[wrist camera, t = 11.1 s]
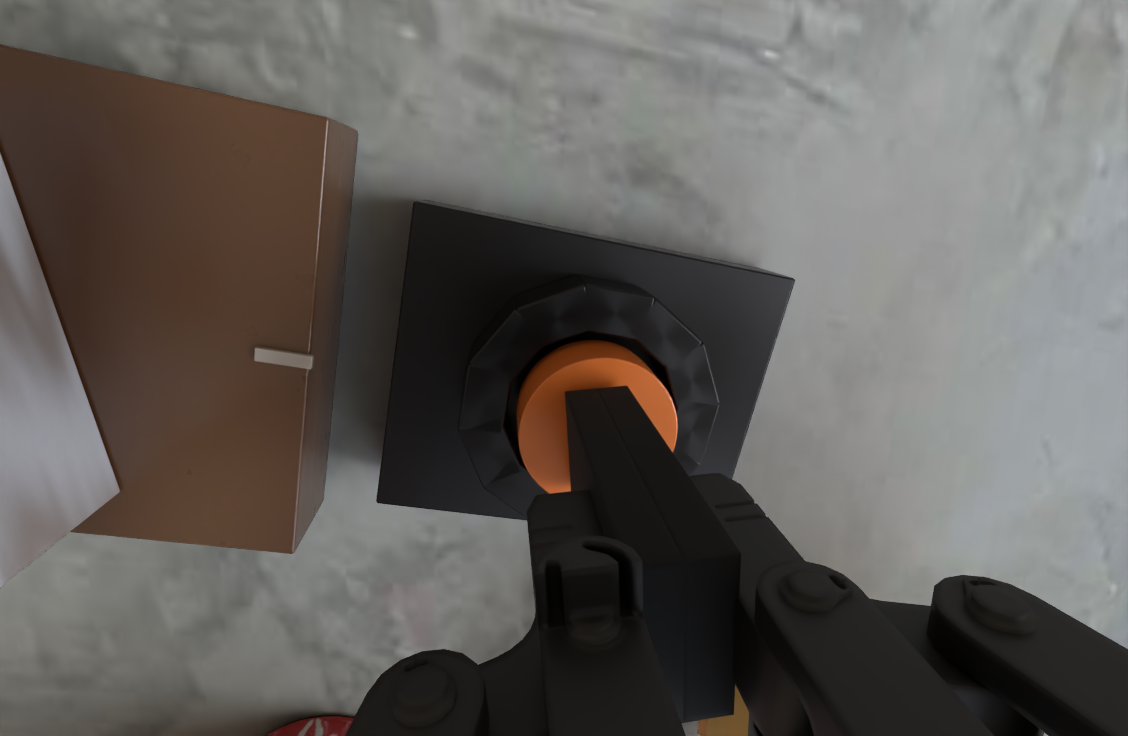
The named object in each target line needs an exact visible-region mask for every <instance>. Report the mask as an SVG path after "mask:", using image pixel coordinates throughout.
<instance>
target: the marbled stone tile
mask: <svg viewBox="0 0 1128 736" xmlns="http://www.w3.org/2000/svg"><path fill="white" fill-rule="evenodd" d="M119 492H120V489H119V486H118V483H117V481H116V478H115V475H114V472H113V469H112V467H111V464H110V461H109V458H108V455H107V452H106V450H105V447H104V444H103V441H102V438H101V436H100V433H99V430H98V427H97V424H96V421H95V419H94V416H93V413H92V410H91V407H90V404H89V402H88V399H87V396H86V393H85V390H84V388H83V385H82V382H81V379H80V376H79V373H78V371H77V368H76V365H75V362H74V359H73V357H72V354H71V351H70V348H69V345H68V342H67V340H66V337H65V334H64V331H63V328H62V325H61V323H60V320H59V317H58V314H57V311H56V309H55V306H54V303H53V300H52V297H51V294H50V292H49V289H48V286H47V283H46V280H45V278H44V275H43V272H42V269H41V266H40V263H39V261H38V258H37V255H36V252H35V249H34V246H33V244H32V241H31V238H30V235H29V232H28V230H27V227H26V224H25V221H24V218H23V215H22V213H21V210H20V207H19V204H18V201H17V198H16V196H15V193H14V190H13V187H12V184H11V182H10V179H9V176H8V173H7V170H6V167H5V165H4V162H3V159H2V156H1V153H0V587H1V586H3V585H4V584H5V583H6V582H8V581H9V580H10V579H11V578H13V577H14V576H15V575H16V574H18V573H19V572H20V571H21V570H23V569H24V568H25V567H26V566H28V565H29V564H30V563H31V562H33V561H34V560H35V559H36V558H38V557H39V556H40V555H42V554H43V553H44V552H45V551H47V550H48V549H49V548H50V547H52V546H53V545H54V544H55V543H57V542H58V541H59V540H60V539H62V538H63V537H64V536H65V535H67V534H68V533H69V532H70V531H72V530H73V529H74V528H75V527H77V526H78V525H79V524H80V523H82V522H83V521H84V520H85V519H87V518H88V517H89V516H90V515H92V514H93V513H94V512H95V511H97V510H98V509H99V508H100V507H102V506H103V505H104V504H105V503H107V502H108V501H109V500H110V499H112V498H113V497H114V496H115V495H117V494H118V493H119Z"/></svg>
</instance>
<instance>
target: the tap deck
mask: <svg viewBox="0 0 1128 736" xmlns="http://www.w3.org/2000/svg"><path fill="white" fill-rule="evenodd" d="M357 141H358V131H357V130H355V129H353V128H351V127H348V126H346V125H344V124H341V123H339V122H337V121H334V120H332V119H330V118H327V117H323V116H319V115H314V114H310V113H305V112H301V111H296V110H292V109H287V108H283V107H279V106H274V105H270V104H265V103H261V102H256V101H252V100H247V99H243V98H238V97H234V96H229V95H225V94H220V93H216V92H211V91H207V90H202V89H198V88H193V87H189V86H184V85H180V84H175V83H171V82H167V81H162V80H158V79H153V78H149V77H144V76H140V75H135V74H131V73H126V72H122V71H117V70H113V69H108V68H104V67H99V66H95V65H90V64H86V63H81V62H77V61H72V60H68V59H63V58H59V57H55V56H50V55H46V54H41V53H37V52H32V51H28V50H23V49H19V48H14V47H10V46H5V45H1V44H0V153H1V156H2V159H3V162H4V165H5V167H6V170H7V173H8V176H9V179H10V182H11V184H12V187H13V190H14V193H15V196H16V198H17V201H18V204H19V207H20V210H21V213H22V215H23V218H24V221H25V224H26V227H27V230H28V232H29V235H30V238H31V241H32V244H33V246H34V249H35V252H36V255H37V258H38V261H39V263H40V266H41V269H42V272H43V275H44V278H45V280H46V283H47V286H48V289H49V292H50V294H51V297H52V300H53V303H54V306H55V309H56V311H57V314H58V317H59V320H60V323H61V325H62V328H63V331H64V334H65V337H66V340H67V342H68V345H69V348H70V351H71V354H72V357H73V359H74V362H75V365H76V368H77V371H78V373H79V376H80V379H81V382H82V385H83V388H84V390H85V393H86V396H87V399H88V402H89V404H90V407H91V410H92V413H93V416H94V419H95V421H96V424H97V427H98V430H99V433H100V436H101V438H102V441H103V444H104V447H105V450H106V452H107V455H108V458H109V461H110V464H111V467H112V469H113V472H114V475H115V478H116V481H117V483H118V486H119V489H120V492H119V493H118V494H117V495H115V496H114V497H113V498H112V499H110V500H109V501H108V502H107V503H105V504H104V505H103V506H102V507H100V508H99V509H98V510H97V511H95V512H94V513H93V514H92V515H90V516H89V517H88V518H87V519H85V520H84V521H83V522H82V523H80V524H79V525H78V526H77V527H75V528H74V529H73V530H72V531H70V532H76V533H87V534H97V535H107V536H117V537H127V538H137V539H147V540H157V541H168V542H178V543H188V544H198V545H208V546H218V547H228V548H238V549H249V550H259V551H269V552H279V553H289V554H292V553H294V552H295V550H296V549H297V547H298V545H299V543H300V541H301V540H302V538H303V536H304V534H305V532H306V531H307V529H308V527H309V525H310V524H311V522H312V520H313V518H314V516H315V515H316V513H317V511H318V509H319V507H320V506H321V504H322V502H323V500H324V490H325V479H326V469H327V458H328V447H329V437H330V426H331V416H332V405H333V395H334V384H335V373H336V363H337V352H338V342H339V331H340V321H341V310H342V299H343V289H344V278H345V268H346V257H347V247H348V236H349V226H350V215H351V204H352V194H353V183H354V173H355V162H356V152H357ZM30 564H31V563H30ZM30 564H29V565H30ZM26 567H27V566H26Z"/></svg>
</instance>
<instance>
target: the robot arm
mask: <svg viewBox="0 0 1128 736" xmlns="http://www.w3.org/2000/svg"><path fill="white" fill-rule="evenodd" d="M565 404H566V420H567V436H568V452H569V468H570V485H571V491H568V492H559V493H551V494H542V495H536V496H535V498H534V500H533V501H532V503H531V505H530V507H529V508H528V510H527V522H528V533H529V544H530V555H531V566H532V577H533V587H534V598H535V608H536V614H535V619H534V622H533V624H532V627H531V629H530V630H529V632H528V633H527V634H526V636H525V637H524V638H523V640H521V641H520V642H519V643H518V644H517V645H515V646H514V647H513V648H512V649H511V650H509V651H507V652H505V653H503V654H501V655H499V656H498V657H496V658H493V659H491V660H489V661H486V662H484V663H482V664H479V665H477V664H476V663H475V662H474V661H472V660H471V659H470V658H468V657H467V656H466V655H464V654H463V653H458V652H454V651H450V650H445V649H441V650H431V651H422V652H420V653H417V654H415V655H412V656H410V657H407V658H405V659H402V660H400V661H399V662H397V663H396V664H395V665H393V666H392V667H391V668H389V669H388V670H387V671H385V672H384V673H383V674H381V675H380V677H379V678H378V679H377V681H376V682H375V683H374V685H373V686H372V687H371V689H370V690H369V691H368V693H367V695H366V696H365V698H364V700H363V702H362V704H361V706H360V708H359V710H358V712H357V714H356V716H355V717H354V719H353V721H352V723H351V725H350V727H349V729H348V731H347V733H346V735H345V736H686V735H685V733H684V730H683V727H682V724H681V723H684V722H691V721H697V720H703V719H710V718H716V717H723V716H729V715H734V700H735V685H736V687H737V689H738V691H739V693H740V695H741V697H742V699H743V701H744V703H745V705H746V707H747V709H748V711H749V722H748V736H1043V734H1044V732H1045V733H1046V734H1047V735H1049V736H1128V649H1126V648H1124V647H1123V646H1121V645H1119V644H1118V643H1116V642H1114V641H1112V640H1111V639H1109V638H1107V637H1105V636H1104V635H1102V634H1100V633H1098V632H1097V631H1095V630H1093V629H1092V628H1090V627H1088V626H1086V625H1085V624H1083V623H1081V622H1079V621H1078V620H1076V619H1074V618H1072V617H1071V616H1069V615H1067V614H1065V613H1064V612H1062V611H1060V610H1059V609H1057V608H1055V607H1053V606H1052V605H1050V604H1048V603H1046V602H1045V601H1043V600H1041V599H1039V598H1038V597H1036V596H1034V595H1032V594H1030V593H1028V592H1026V591H1024V590H1021V589H1019V588H1017V587H1015V586H1013V585H1011V584H1008V583H1004V582H1000V581H997V580H993V579H990V578H986V577H978V576H967V575H960V576H954V577H948V578H944V579H943V580H942V581H940V582H939V583H938V584H936V585H935V586H934V592H933V598H932V603H931V606H925V605H915V604H906V603H896V602H887V601H879V600H873V599H869V598H868V597H867V596H866V595H865V593H864V592H863V591H862V590H861V589H860V588H859V587H858V586H857V585H856V584H854V583H853V582H852V581H851V580H849V579H848V578H847V577H846V576H844V575H843V574H841V573H839V572H837V571H834V570H832V569H830V568H828V567H826V566H823V565H819V564H814V563H810V562H805V561H804V559H803V558H802V557H801V556H800V555H799V553H798V552H797V551H796V550H795V549H794V547H793V546H792V545H791V544H790V543H789V541H788V540H787V539H786V538H785V537H784V535H783V534H782V533H781V532H780V531H779V529H778V528H777V527H776V526H775V525H774V524H773V522H772V521H771V520H770V519H769V518H768V517H766V516H765V513H764V512H763V510H762V509H761V508H760V507H759V506H758V504H755V503H754V500H753V498H752V497H751V496H750V495H749V494H748V492H747V491H746V490H745V489H744V488H743V486H742V485H741V484H739V483H737V482H735V481H734V480H732V479H730V478H728V477H726V476H725V475H723V474H721V473H711V474H702V475H693V476H688V474H687V473H686V471H685V470H684V468H683V467H682V466H681V464H680V463H679V461H678V460H677V458H676V457H675V455H674V454H673V452H672V451H671V449H670V448H669V446H668V445H667V443H666V442H665V441H664V439H663V438H662V436H661V435H660V433H659V432H658V430H657V429H656V427H655V426H654V424H653V423H652V421H651V420H650V418H649V417H648V415H647V414H646V413H645V411H644V410H643V408H642V407H641V405H640V404H639V402H638V401H637V399H636V398H635V396H634V395H633V393H632V392H631V390H630V389H629V388H628V386H627V385H626V386H616V387H606V388H595V389H585V390H574V391H565Z"/></svg>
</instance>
